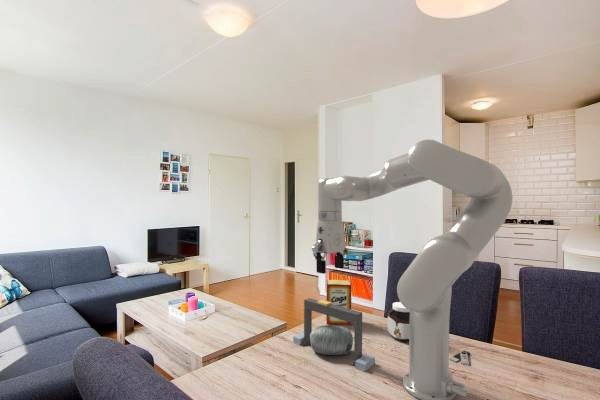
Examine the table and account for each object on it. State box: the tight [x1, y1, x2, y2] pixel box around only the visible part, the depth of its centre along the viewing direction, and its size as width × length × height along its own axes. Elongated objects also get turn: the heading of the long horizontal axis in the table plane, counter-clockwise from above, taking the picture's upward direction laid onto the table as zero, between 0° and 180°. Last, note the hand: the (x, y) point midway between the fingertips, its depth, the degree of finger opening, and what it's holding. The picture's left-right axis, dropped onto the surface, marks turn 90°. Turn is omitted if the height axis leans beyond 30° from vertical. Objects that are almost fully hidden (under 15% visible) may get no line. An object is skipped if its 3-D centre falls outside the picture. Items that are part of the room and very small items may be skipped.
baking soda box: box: [325, 279, 352, 326], centre depth 126 cm, size 10×6×16 cm
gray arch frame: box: [301, 297, 363, 367], centre depth 100 cm, size 21×4×15 cm, turn 49°
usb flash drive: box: [449, 350, 471, 367], centre depth 97 cm, size 9×5×1 cm, turn 126°
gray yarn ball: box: [310, 324, 354, 356], centre depth 100 cm, size 14×10×10 cm
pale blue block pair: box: [292, 331, 376, 372], centre depth 100 cm, size 27×6×2 cm, turn 49°
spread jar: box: [387, 301, 410, 343], centre depth 111 cm, size 12×11×12 cm
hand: (330, 270), depth 101 cm, fingers open, 9 cm apart
